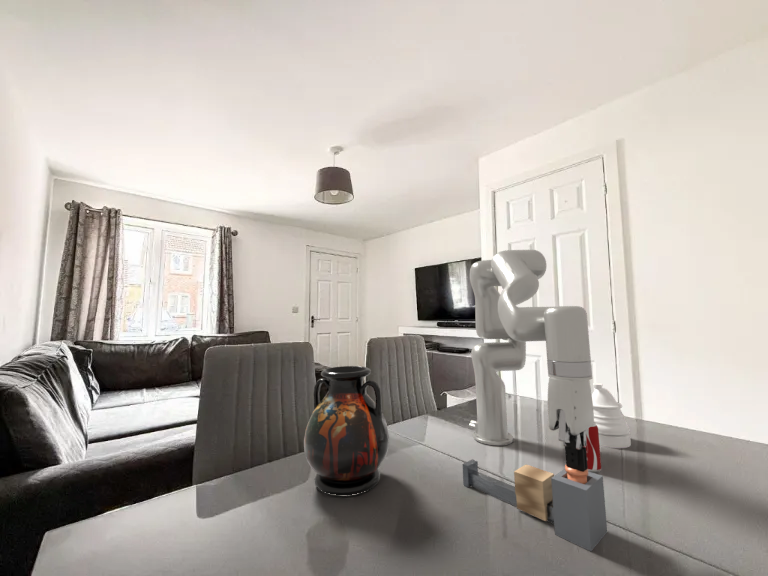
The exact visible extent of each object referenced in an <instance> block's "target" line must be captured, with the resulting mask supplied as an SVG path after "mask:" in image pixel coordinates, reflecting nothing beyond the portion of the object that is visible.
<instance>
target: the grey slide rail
mask: <svg viewBox="0 0 768 576" xmlns="http://www.w3.org/2000/svg"><path fill="white" fill-rule="evenodd" d="M478 462H479V461H478V460H475V459H473V458H472V459H470V460H468V461H465V462H463V463H462V465H461V466H462V479H463V481H462V483H463V485H464V487H466V488H468V487H469V488H471V487H470V486H472V488H473V487H474V489H475V490H478V491H480V492H482V491H483V492H482V493H484V492H485V494H486V495H489V496H492V497H494V498H496V499H498V500H500V501H503V502H504V503H507V504H509V505H512V506H513V507H516V508H517V500H516V494H515V485H511V484H509V483H506V482H504V481H502V480H499V479H497V478H494V477H492V476H489V475H487V474H484V473H482V472H480V471H479V467H478V465H479V464H478ZM547 517H548V520H547V521H546V522H548V523H551V524H553V525H554V512H553V502H551V501H550V502H549V503H548V504H547Z"/></svg>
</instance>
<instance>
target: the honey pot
mask: <svg viewBox="0 0 768 576" xmlns="http://www.w3.org/2000/svg"><path fill="white" fill-rule="evenodd" d="M592 385H593V388H594V391H593V392H592V393H591V394H592V401H593V411H594V421H595V422H596V425H597V427H598V432H599V444H600V447H604V448H611V449H626V448H629V447H631V446H632V445H631V444H632V441H631V439H632V438H631V433H630V432H631V431H630V426H629V424H628V423H627V419H626V418H625V414H624V413H623V411H622V408H623V404H622V403H620V402H618V401H617V399H616V398H615V397H614V395H612V393H611V392H610V391H609V390H608V389H607V388H605V387H603V383H601V382H599V383H597V382H593V383H592Z"/></svg>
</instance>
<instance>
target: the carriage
mask: <svg viewBox="0 0 768 576" xmlns="http://www.w3.org/2000/svg"><path fill="white" fill-rule="evenodd" d="M513 475H514V477H513V478H514V479H513V480H514V487H515V494H516V500H517V507H516V509H517V510H520V511H522V512H524V513H526V514H529V515H531V516H533V517H535V518H537V519H539V520H541V521H543V522H548V521H547V520H548V517H547V504H548V503H549V502H550V501H551V502H553V497H552V482H551V478H552V477H554V476H555V473H553V472H550V471H548V470H547V471H546V470H544V469H541V468H538V467H535V466H532V465H529V464H527V463H526V464H524V465H522V466H521V467H519V468H517V469H516V470H514V471H513Z"/></svg>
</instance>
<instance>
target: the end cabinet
mask: <svg viewBox="0 0 768 576" xmlns="http://www.w3.org/2000/svg"><path fill="white" fill-rule="evenodd" d="M551 482H552V497H553V512H554V524H553V526H554V535H556V536H558V537H559V538H562V539H564V540H566V541H568V542H570V543H572V544H575V545H577V546H579V547H581V548H583V549H585V550H587V551H589V552H592V551H593V550H594V548H595V547H596V546H597V545H598V544H599V543H600V541H601V540H602V539H603V538H604V536H605V535H606V534H607V533H608V524H607V512H606V511H607V510H606V500H605V486H604V476H603V475H601V474H597V473H596V472H589V471H588V476H587V483H586V484H582V483H579V482H576V481H573V480H570V479H568V476H567V472H566V471H565V468H563V469H561V471H559V472H558V473H557V474H554V477H552V478H551Z"/></svg>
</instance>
